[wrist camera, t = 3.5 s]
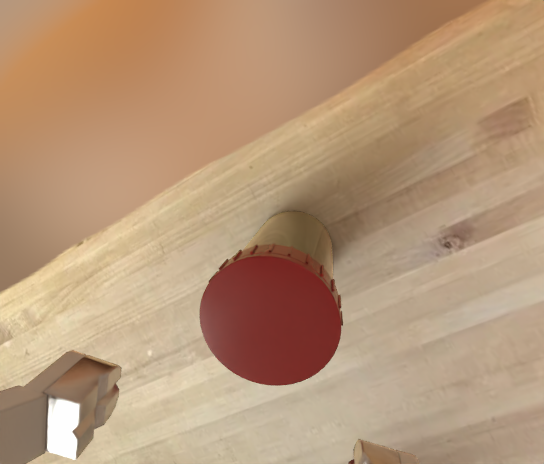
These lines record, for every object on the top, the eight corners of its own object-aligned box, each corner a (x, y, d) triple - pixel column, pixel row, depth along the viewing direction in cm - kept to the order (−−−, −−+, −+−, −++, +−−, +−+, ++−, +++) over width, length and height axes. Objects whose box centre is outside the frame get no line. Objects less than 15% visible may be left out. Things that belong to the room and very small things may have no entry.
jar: (316, 199, 24) (306, 240, 14) (343, 270, 25) (352, 356, 15) (244, 226, 25) (188, 281, 15) (272, 292, 26) (238, 385, 16)
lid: (313, 223, 15) (310, 233, 13) (360, 345, 16) (363, 368, 14) (190, 267, 16) (174, 281, 15) (241, 376, 17) (231, 400, 16)
